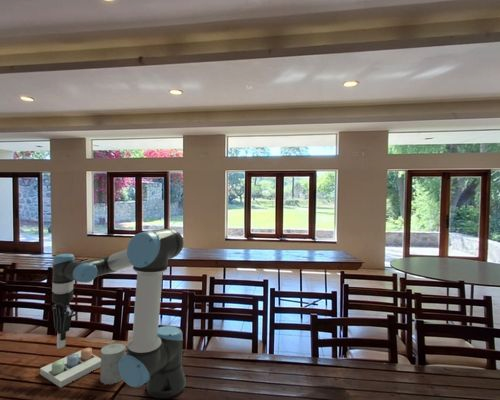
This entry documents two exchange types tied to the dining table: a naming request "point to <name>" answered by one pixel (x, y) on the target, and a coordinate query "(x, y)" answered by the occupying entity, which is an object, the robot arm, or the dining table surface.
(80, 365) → the panel
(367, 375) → the dining table surface
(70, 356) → the slate button
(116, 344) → the light grey cylinder
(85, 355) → the terracotta button
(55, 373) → the sage button
